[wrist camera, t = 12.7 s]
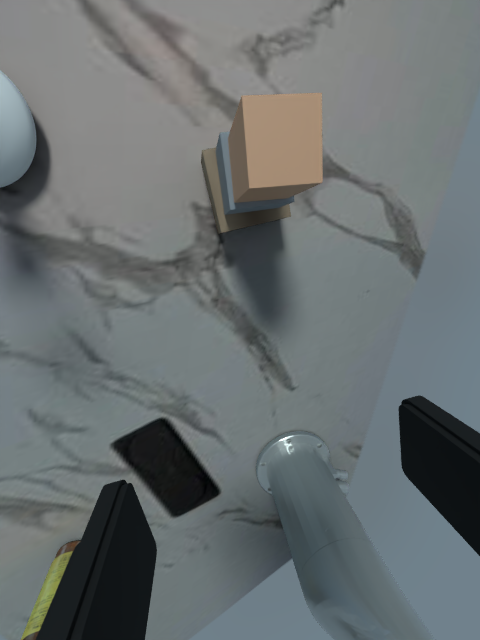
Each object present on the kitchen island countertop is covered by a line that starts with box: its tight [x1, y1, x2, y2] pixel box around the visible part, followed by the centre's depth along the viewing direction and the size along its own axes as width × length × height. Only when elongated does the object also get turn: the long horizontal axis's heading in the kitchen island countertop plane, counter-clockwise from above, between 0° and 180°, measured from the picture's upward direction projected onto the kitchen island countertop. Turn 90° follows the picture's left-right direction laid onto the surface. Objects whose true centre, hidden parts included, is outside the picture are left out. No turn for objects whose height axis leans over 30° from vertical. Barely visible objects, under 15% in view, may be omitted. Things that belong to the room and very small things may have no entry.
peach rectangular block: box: [228, 93, 322, 203], centre depth 20 cm, size 5×5×7 cm
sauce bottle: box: [21, 540, 81, 640], centre depth 34 cm, size 7×6×20 cm
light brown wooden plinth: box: [201, 148, 291, 234], centre depth 31 cm, size 8×8×4 cm
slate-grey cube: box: [215, 132, 294, 215], centre depth 26 cm, size 6×6×5 cm
